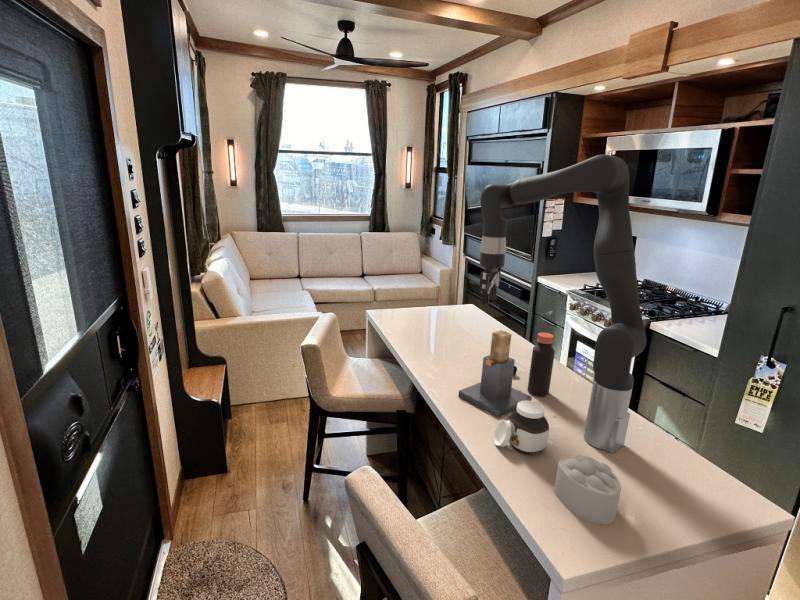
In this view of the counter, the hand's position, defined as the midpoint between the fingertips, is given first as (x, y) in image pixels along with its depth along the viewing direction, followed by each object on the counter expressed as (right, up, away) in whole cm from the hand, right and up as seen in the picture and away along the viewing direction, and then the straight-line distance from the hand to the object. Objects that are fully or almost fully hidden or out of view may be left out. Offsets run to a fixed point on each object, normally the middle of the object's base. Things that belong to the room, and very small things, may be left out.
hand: (488, 301), depth 142 cm
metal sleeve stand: (+2, -31, -1) cm, 31 cm away
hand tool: (+10, -24, +25) cm, 36 cm away
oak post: (+2, -29, -2) cm, 29 cm away
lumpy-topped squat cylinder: (+13, -44, -44) cm, 64 cm away
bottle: (+17, -30, +5) cm, 35 cm away
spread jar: (+3, -38, -25) cm, 46 cm away
